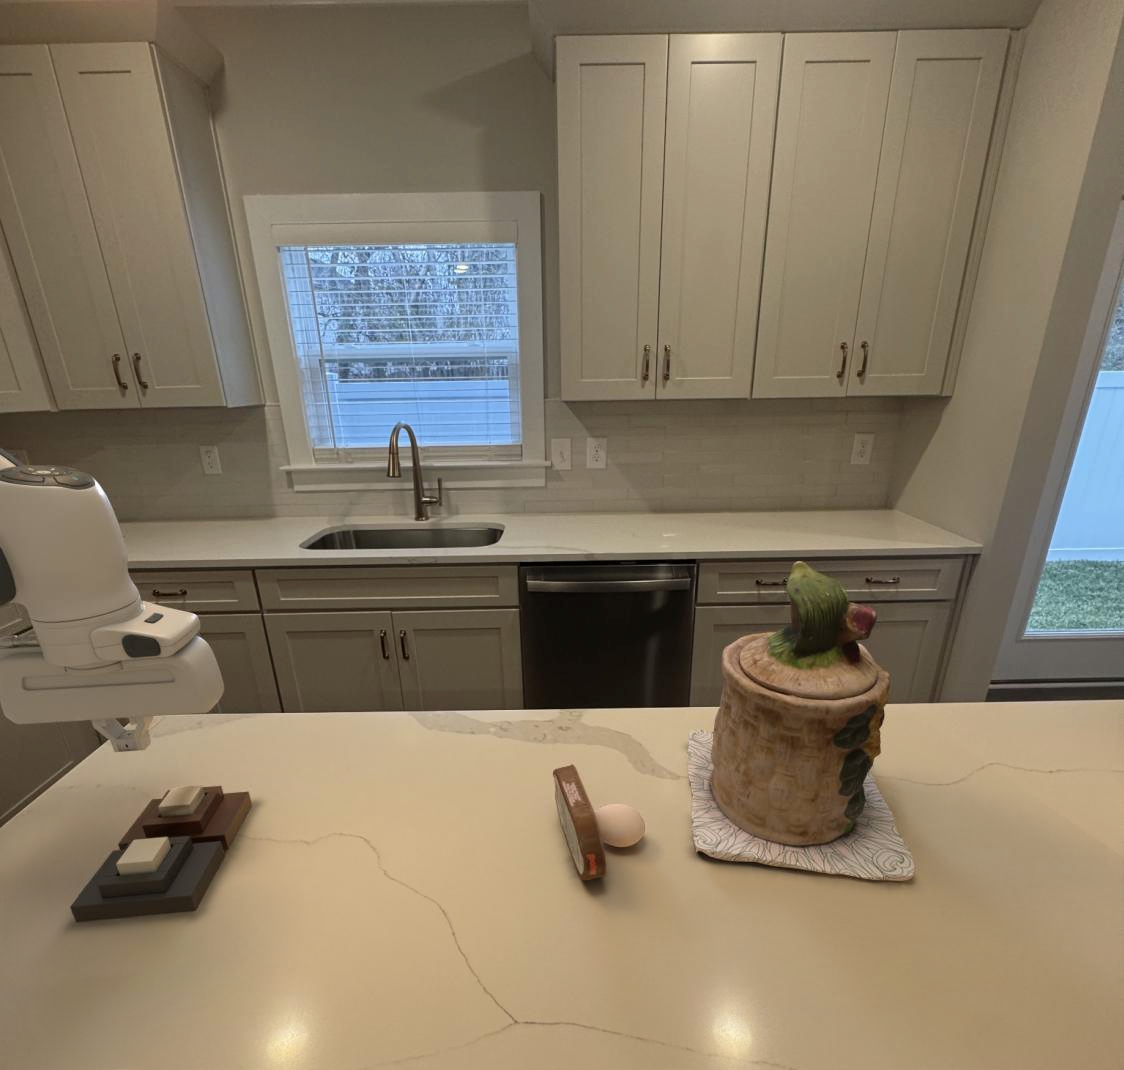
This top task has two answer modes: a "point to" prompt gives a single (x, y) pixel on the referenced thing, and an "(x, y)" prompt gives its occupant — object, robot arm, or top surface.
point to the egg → (620, 825)
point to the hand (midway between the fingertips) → (133, 748)
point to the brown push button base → (194, 819)
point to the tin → (579, 824)
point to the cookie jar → (799, 745)
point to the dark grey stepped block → (151, 884)
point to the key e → (182, 801)
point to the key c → (144, 856)
